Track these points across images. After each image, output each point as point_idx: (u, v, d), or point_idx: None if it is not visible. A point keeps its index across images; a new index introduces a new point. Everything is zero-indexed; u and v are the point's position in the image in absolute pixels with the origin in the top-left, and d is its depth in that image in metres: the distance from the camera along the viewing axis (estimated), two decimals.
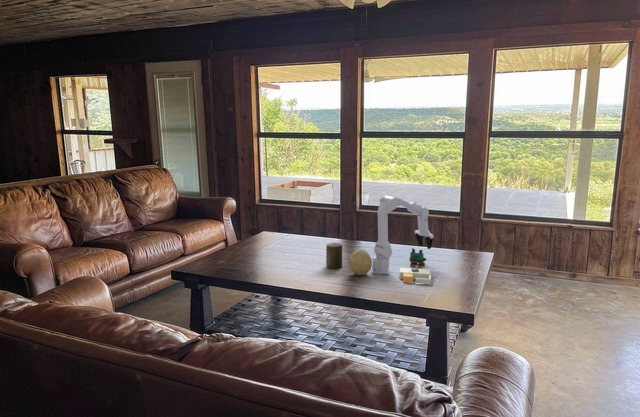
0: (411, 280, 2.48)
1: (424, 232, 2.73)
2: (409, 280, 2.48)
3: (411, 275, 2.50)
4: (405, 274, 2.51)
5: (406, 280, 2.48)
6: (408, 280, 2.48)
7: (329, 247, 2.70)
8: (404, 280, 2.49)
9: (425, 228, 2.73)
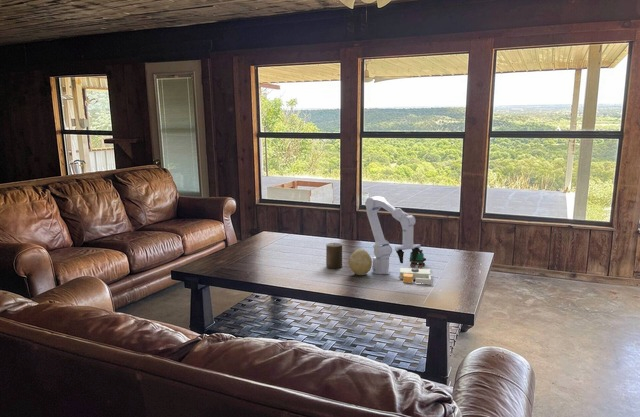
0: (411, 280, 2.48)
1: None
2: (409, 280, 2.48)
3: (411, 275, 2.50)
4: (405, 274, 2.51)
5: (406, 280, 2.48)
6: (408, 280, 2.48)
7: (329, 247, 2.70)
8: (404, 280, 2.49)
9: None
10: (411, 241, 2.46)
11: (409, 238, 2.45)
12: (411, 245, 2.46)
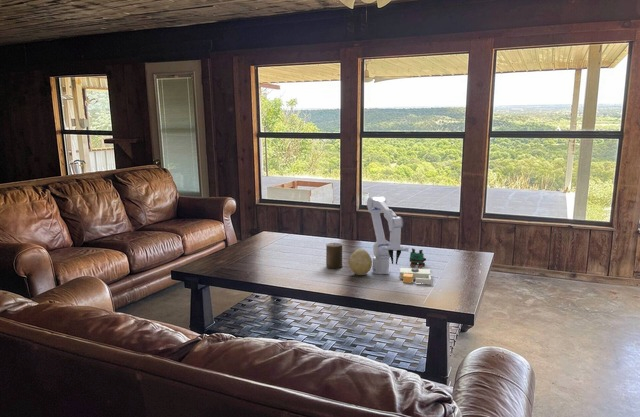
0: (411, 280, 2.48)
1: None
2: (409, 280, 2.48)
3: (411, 275, 2.49)
4: (405, 274, 2.51)
5: (406, 280, 2.48)
6: (408, 280, 2.48)
7: (329, 247, 2.70)
8: (404, 280, 2.49)
9: None
10: (396, 243, 2.46)
11: (394, 240, 2.45)
12: (396, 247, 2.46)
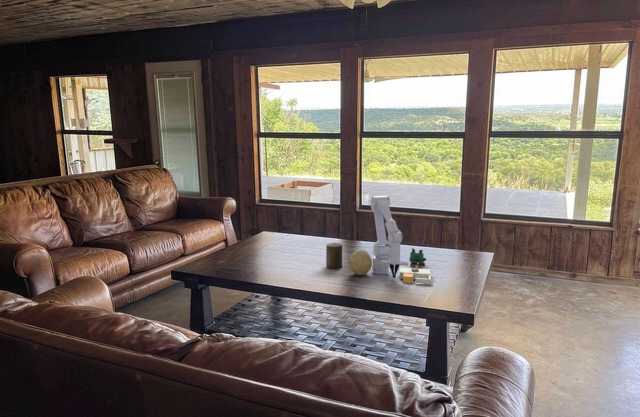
0: (411, 280, 2.48)
1: None
2: (409, 280, 2.48)
3: (411, 275, 2.49)
4: (405, 274, 2.51)
5: (406, 280, 2.48)
6: (408, 280, 2.48)
7: (329, 247, 2.70)
8: (404, 280, 2.49)
9: None
10: (395, 257, 2.47)
11: (394, 254, 2.47)
12: (395, 261, 2.47)
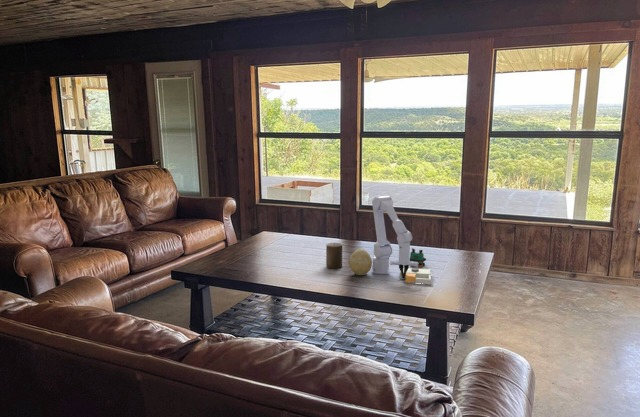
0: (413, 280, 2.48)
1: None
2: (411, 280, 2.48)
3: (414, 275, 2.49)
4: (407, 274, 2.51)
5: (408, 280, 2.48)
6: (410, 280, 2.48)
7: (329, 247, 2.70)
8: (406, 280, 2.48)
9: None
10: (405, 258, 2.46)
11: (405, 255, 2.46)
12: (405, 262, 2.46)
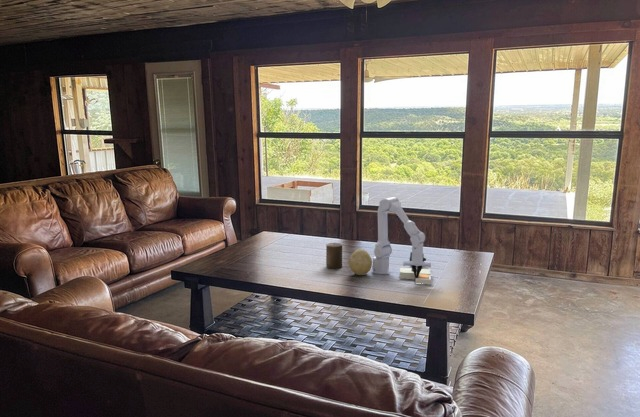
0: None
1: None
2: None
3: (427, 276, 2.48)
4: (420, 275, 2.49)
5: None
6: None
7: (329, 247, 2.70)
8: None
9: None
10: (418, 258, 2.45)
11: (419, 255, 2.44)
12: (418, 262, 2.45)
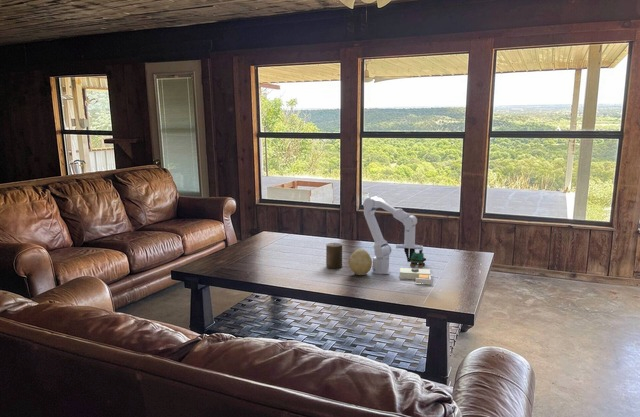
0: None
1: None
2: None
3: (427, 276, 2.48)
4: (420, 275, 2.49)
5: None
6: None
7: (329, 247, 2.70)
8: None
9: None
10: (410, 241, 2.49)
11: (412, 238, 2.49)
12: (410, 245, 2.50)
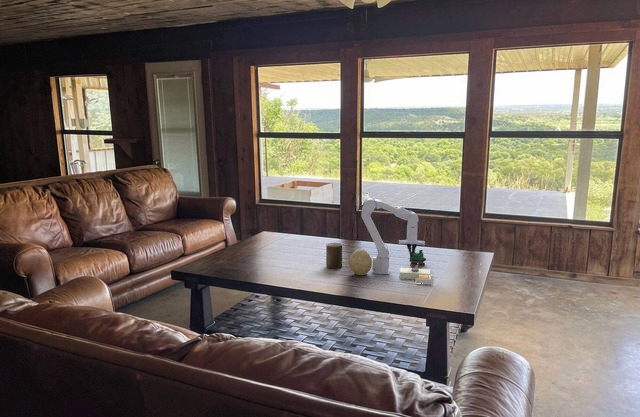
0: None
1: None
2: None
3: (427, 276, 2.48)
4: (420, 275, 2.49)
5: None
6: None
7: (329, 247, 2.70)
8: None
9: None
10: (413, 237, 2.58)
11: (416, 233, 2.59)
12: (413, 241, 2.58)
